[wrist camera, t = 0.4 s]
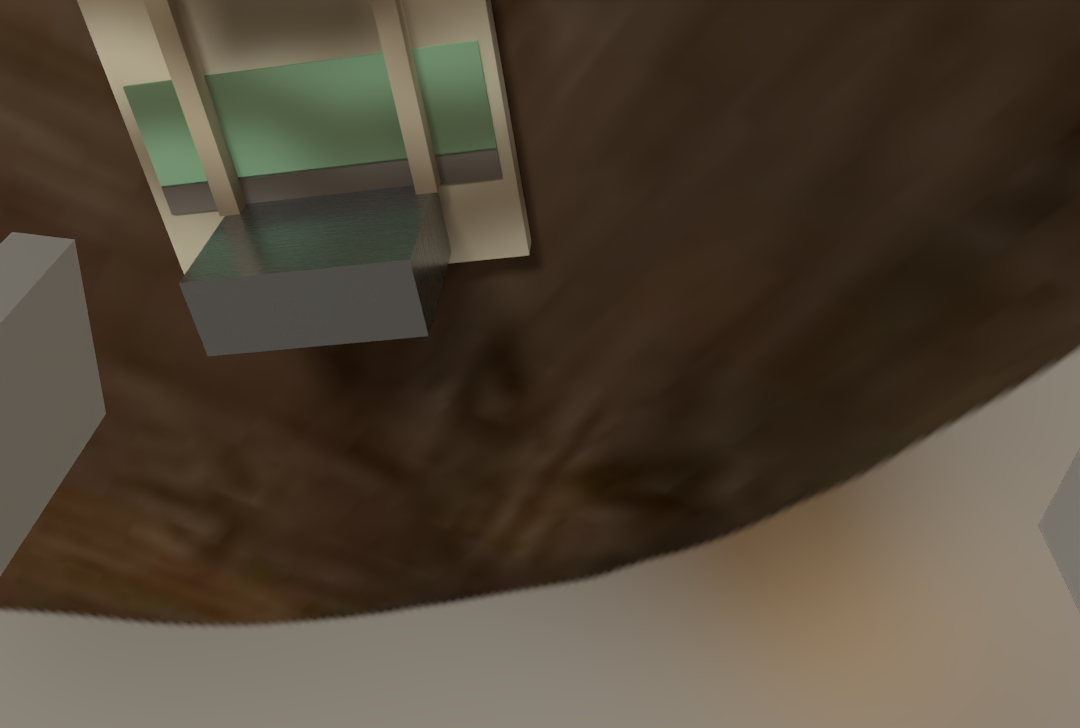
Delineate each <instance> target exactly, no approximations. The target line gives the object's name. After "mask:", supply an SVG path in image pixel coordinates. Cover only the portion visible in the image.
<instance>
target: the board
mask: <svg viewBox="0 0 1080 728" xmlns="http://www.w3.org/2000/svg"><path fill="white" fill-rule="evenodd" d="M77 1H78V4H79V7H80V9H81V12H82V14H83V17H84V19H85V22H86V24H87V27H88V30H89V32H90V35H91V37H92V40H93V42H94V45H95V47H96V50H97V53H98V55H99V58H100V60H101V63H102V65H103V68H104V71H105V73H106V76H107V78H108V81H109V83H110V86H111V88H112V91H113V94H114V96H115V99H116V101H117V104H118V106H119V109H120V112H121V114H122V117H123V119H124V122H125V124H126V127H127V129H128V132H129V135H130V137H131V140H132V142H133V145H134V147H135V150H136V152H137V155H138V158H139V160H140V163H141V165H142V168H143V170H144V173H145V176H146V178H147V181H148V183H149V186H150V188H151V191H152V193H153V196H154V199H155V201H156V204H157V206H158V209H159V211H160V214H161V217H162V219H163V222H164V224H165V227H166V229H167V232H168V234H169V237H170V240H171V242H172V245H173V247H174V250H175V252H176V255H177V257H178V260H179V263H180V265H181V268H182V270H183V273H184V275H185V273H186V272H187V271H188V269H189V268H190V266H191V265H192V263H193V262H194V260H195V259H196V257H197V256H198V255H199V253H200V252H201V250H202V249H203V247H204V246H205V244H206V243H207V241H208V240H209V238H210V237H211V236H212V234H213V233H214V231H215V230H216V228H217V227H218V225H219V224H220V222H221V221H222V220H223V218H224V217H225V216H228V215H237V214H241V212H242V211H243V209H244V208H245V206H246V205H247V204H250V203H259V202H268V201H276V200H285V199H294V198H303V197H312V196H321V195H330V194H339V193H348V192H357V191H366V190H375V189H384V188H393V187H402V186H411V185H414V188H415V192H416V195H419V194H428V193H437V192H438V193H439V197H440V202H441V206H442V211H443V215H444V220H445V224H446V229H447V234H448V238H449V243H450V247H451V256H450V259H449V263H459V262H469V261H479V260H489V259H499V258H509V257H519V256H529V254H530V247H531V236H530V230H529V224H528V218H527V212H526V206H525V200H524V194H523V188H522V183H521V177H520V171H519V165H518V159H517V153H516V147H515V141H514V135H513V130H512V124H511V118H510V112H509V106H508V100H507V94H506V88H505V82H504V77H503V71H502V65H501V59H500V53H499V47H498V41H497V35H496V29H495V24H494V18H493V12H492V6H491V0H77ZM449 263H448V264H449Z"/></svg>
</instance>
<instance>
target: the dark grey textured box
mask: <svg viewBox="0 0 1080 728" xmlns="http://www.w3.org/2000/svg"><path fill="white" fill-rule="evenodd" d="M450 256H451V247H450V243H449V238H448V234H447V229H446V224H445V220H444V215H443V211H442V206H441V202H440V197H439V193H438V192H437V193H428V194H419V195H416V192H415V188H414V185H411V186H402V187H393V188H384V189H375V190H366V191H357V192H348V193H339V194H330V195H321V196H312V197H303V198H294V199H285V200H276V201H268V202H259V203H250V204H247V205H246V206H245V208H244V209H243V211H242V212H241V214H237V215H228V216H225V217H224V218H223V220H222V221H221V222H220V224H219V225H218V227H217V228H216V230H215V231H214V233H213V234H212V236H211V237H210V238H209V240H208V241H207V243H206V244H205V246H204V247H203V249H202V250H201V252H200V253H199V255H198V256H197V257H196V259H195V260H194V262H193V263H192V265H191V266H190V268H189V269H188V271H187V272H186V273H185V275H184V276H183V278H182V279H181V281H180V282H179V285H180V287H181V290H182V292H183V295H184V297H185V300H186V302H187V305H188V307H189V310H190V312H191V315H192V318H193V320H194V323H195V325H196V328H197V330H198V333H199V335H200V338H201V340H202V343H203V345H204V348H205V350H206V353H207V355H208V356H217V355H228V354H239V353H250V352H261V351H272V350H282V349H293V348H304V347H315V346H326V345H337V344H348V343H359V342H370V341H381V340H392V339H403V338H414V337H425V336H429V333H430V329H431V326H432V322H433V318H434V314H435V311H436V307H437V303H438V300H439V296H440V292H441V289H442V285H443V281H444V278H445V274H446V270H447V267H448V263H449V259H450Z"/></svg>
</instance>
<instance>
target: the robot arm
mask: <svg viewBox="0 0 1080 728" xmlns="http://www.w3.org/2000/svg"><path fill="white" fill-rule="evenodd" d="M105 414H106V412H105V407H104V401H103V395H102V390H101V384H100V379H99V373H98V368H97V362H96V356H95V351H94V345H93V340H92V334H91V329H90V323H89V318H88V312H87V306H86V301H85V295H84V290H83V284H82V279H81V273H80V268H79V262H78V256H77V251H76V245H75V240H73V239H65V238H57V237H48V236H40V235H32V234H24V233H15V232H12V233H11V234H10V235H9V236H8V237H7V238H6V239H5V240H4V241H3V242H2V243H1V244H0V576H1V574H2V572H3V571H4V569H5V568H6V566H7V565H8V563H9V562H10V560H11V559H12V557H13V556H14V554H15V553H16V551H17V549H18V548H19V546H20V545H21V543H22V542H23V540H24V539H25V537H26V536H27V534H28V533H29V531H30V529H31V528H32V526H33V525H34V523H35V522H36V520H37V519H38V517H39V516H40V514H41V513H42V511H43V509H44V508H45V506H46V505H47V503H48V502H49V500H50V499H51V497H52V496H53V494H54V493H55V491H56V490H57V488H58V486H59V485H60V483H61V482H62V480H63V479H64V477H65V476H66V474H67V473H68V471H69V470H70V468H71V466H72V465H73V463H74V462H75V460H76V459H77V457H78V456H79V454H80V453H81V451H82V450H83V448H84V447H85V445H86V443H87V442H88V440H89V439H90V437H91V436H92V434H93V433H94V431H95V430H96V428H97V427H98V425H99V423H100V422H101V420H102V419H103V417H104V416H105ZM1039 527H1040V529H1041V532H1042V534H1043V536H1044V538H1045V540H1046V542H1047V544H1048V546H1049V549H1050V551H1051V553H1052V555H1053V557H1054V559H1055V561H1056V563H1057V566H1058V568H1059V570H1060V572H1061V574H1062V576H1063V578H1064V580H1065V583H1066V585H1067V587H1068V589H1069V591H1070V593H1071V595H1072V597H1073V599H1074V602H1075V604H1076V606H1077V608H1078V610H1079V612H1080V449H1079V451H1078V453H1077V454H1076V456H1075V458H1074V460H1073V462H1072V464H1071V466H1070V467H1069V469H1068V471H1067V473H1066V475H1065V477H1064V479H1063V480H1062V482H1061V484H1060V486H1059V488H1058V490H1057V492H1056V494H1055V495H1054V497H1053V499H1052V501H1051V503H1050V505H1049V506H1048V508H1047V510H1046V512H1045V514H1044V516H1043V518H1042V520H1041V521H1040V523H1039Z"/></svg>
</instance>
